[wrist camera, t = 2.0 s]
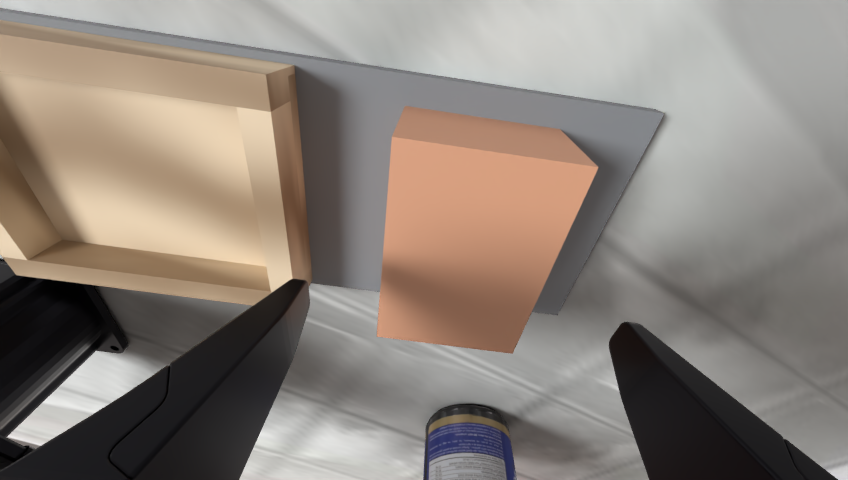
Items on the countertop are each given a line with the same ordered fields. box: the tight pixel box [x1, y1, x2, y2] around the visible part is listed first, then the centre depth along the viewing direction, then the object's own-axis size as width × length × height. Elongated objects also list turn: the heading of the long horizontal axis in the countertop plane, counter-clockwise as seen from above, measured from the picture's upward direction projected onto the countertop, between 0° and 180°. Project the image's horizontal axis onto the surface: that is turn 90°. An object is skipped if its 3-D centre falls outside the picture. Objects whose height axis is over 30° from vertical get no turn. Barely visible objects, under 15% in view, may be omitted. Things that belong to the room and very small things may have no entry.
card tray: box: [0, 20, 312, 305], centre depth 12 cm, size 10×12×2 cm
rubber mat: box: [0, 8, 664, 315], centre depth 14 cm, size 10×25×1 cm, turn 83°
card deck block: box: [377, 106, 599, 354], centre depth 12 cm, size 8×6×4 cm
